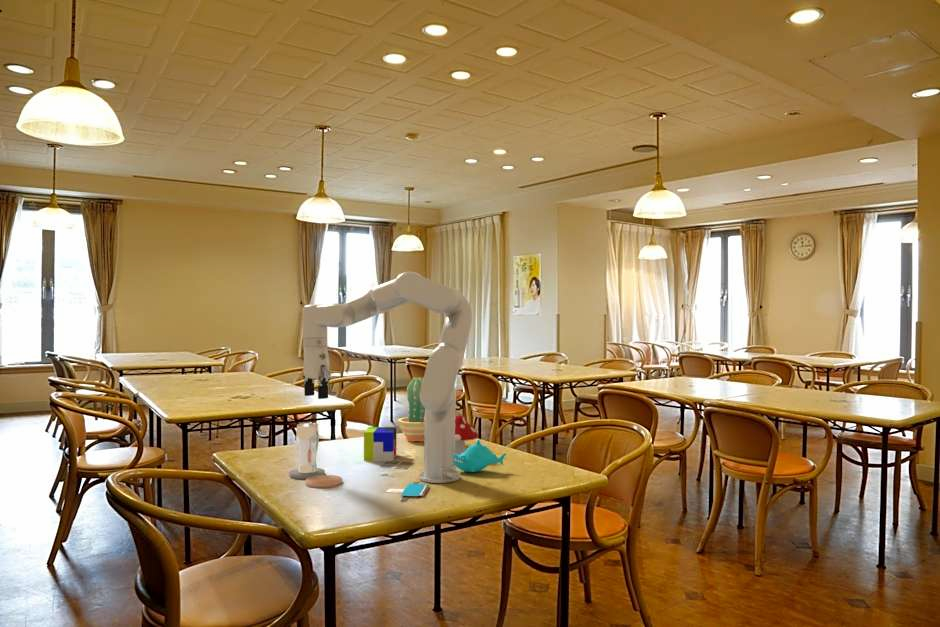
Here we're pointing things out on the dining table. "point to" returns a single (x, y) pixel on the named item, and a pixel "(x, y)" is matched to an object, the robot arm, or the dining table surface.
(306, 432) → the beer glass
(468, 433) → the decorative mushroom
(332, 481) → the terracotta coaster
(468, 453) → the toy shark
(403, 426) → the potted cactus
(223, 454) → the dining table surface
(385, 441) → the puzzle toy
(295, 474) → the slate coaster
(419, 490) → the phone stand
